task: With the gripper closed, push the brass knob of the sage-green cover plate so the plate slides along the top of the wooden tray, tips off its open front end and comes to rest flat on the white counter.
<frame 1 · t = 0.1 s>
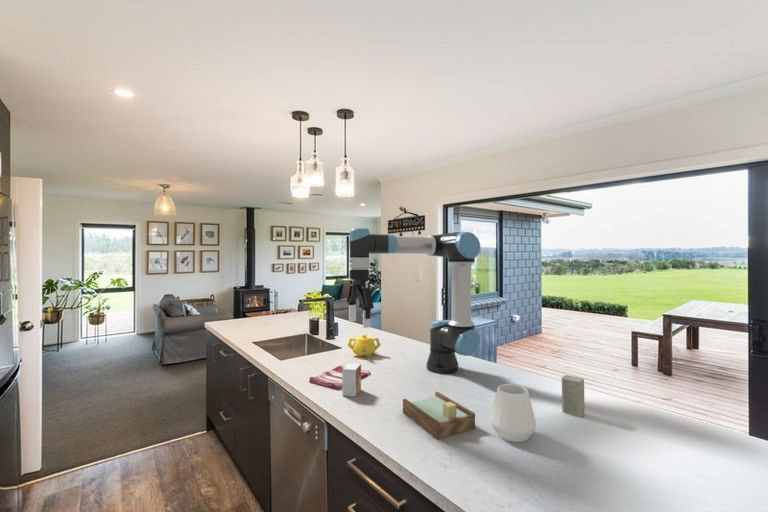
hand: (359, 324, 138), 28 cm above the worktop, fingers open, 13 cm apart
cover plate: (437, 411, 119), point 3 cm above the worktop, touching wooden tray
small box: (351, 393, 143), on the worktop
skincare box: (573, 413, 125), on the worktop
wooden tray: (437, 420, 119), on the worktop
yellow sugar bowl: (364, 355, 196), on the worktop
white ceramic vase: (512, 435, 110), on the worktop
dish towel: (340, 379, 160), on the worktop
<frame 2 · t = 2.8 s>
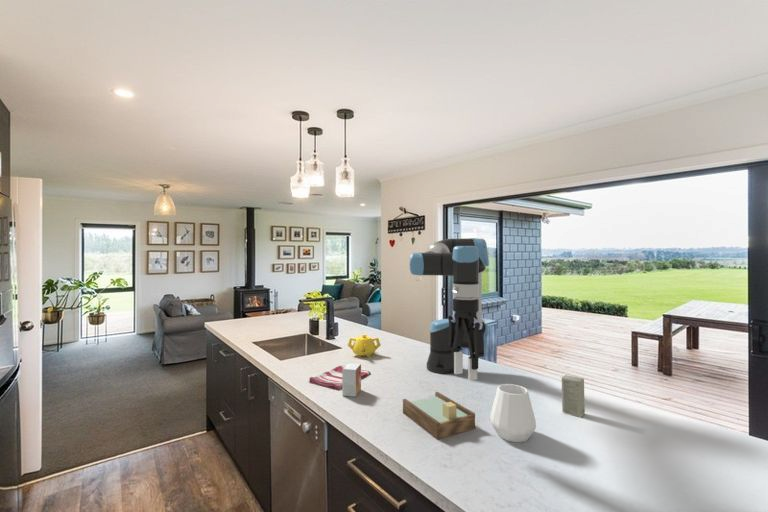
hand: (465, 376, 107), 19 cm above the worktop, fingers open, 6 cm apart
nothing on the worktop moved.
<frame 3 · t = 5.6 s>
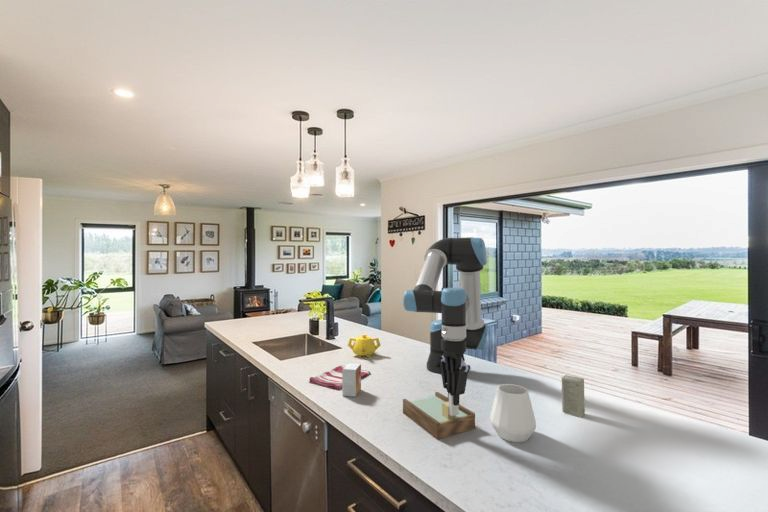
hand: (453, 414, 112), 5 cm above the worktop, fingers closed
cover plate: (436, 410, 119), point 3 cm above the worktop, touching gripper, wooden tray
everything else where it was.
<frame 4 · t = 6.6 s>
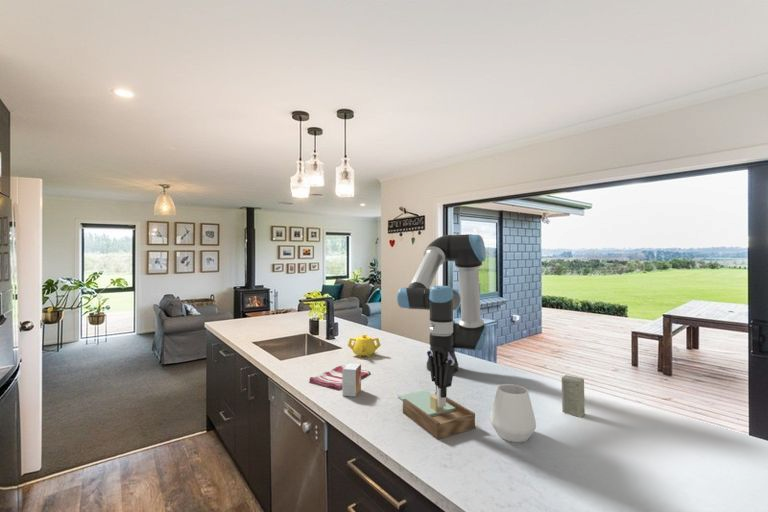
hand: (441, 406, 117), 6 cm above the worktop, fingers closed
cover plate: (425, 403, 125), point 3 cm above the worktop, touching gripper
everything else where it was.
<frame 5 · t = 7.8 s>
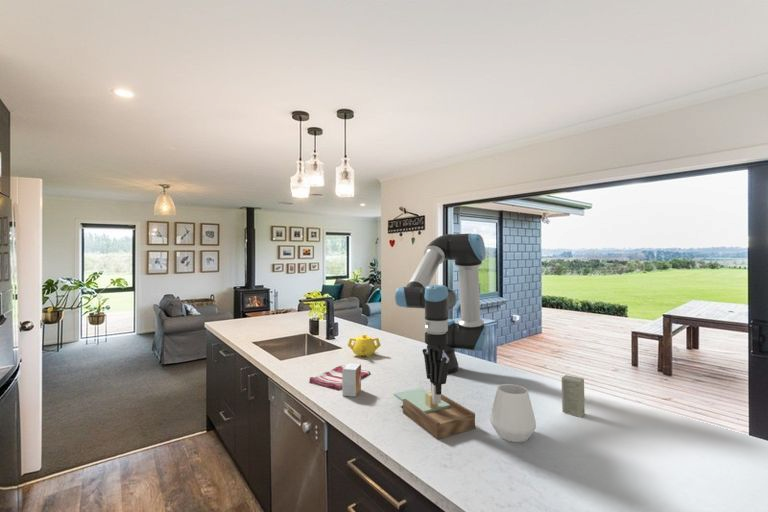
hand: (436, 402, 120), 6 cm above the worktop, fingers closed
cover plate: (420, 401, 127), point 3 cm above the worktop, touching gripper, wooden tray
everything else where it was.
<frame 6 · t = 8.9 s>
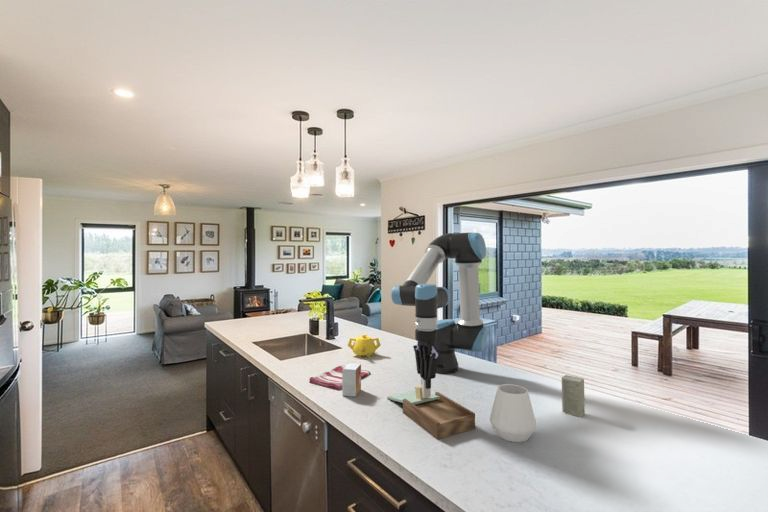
hand: (426, 396, 125), 5 cm above the worktop, fingers closed
cover plate: (412, 398, 132), point 2 cm above the worktop, tilted 13°, touching gripper
everything else where it was.
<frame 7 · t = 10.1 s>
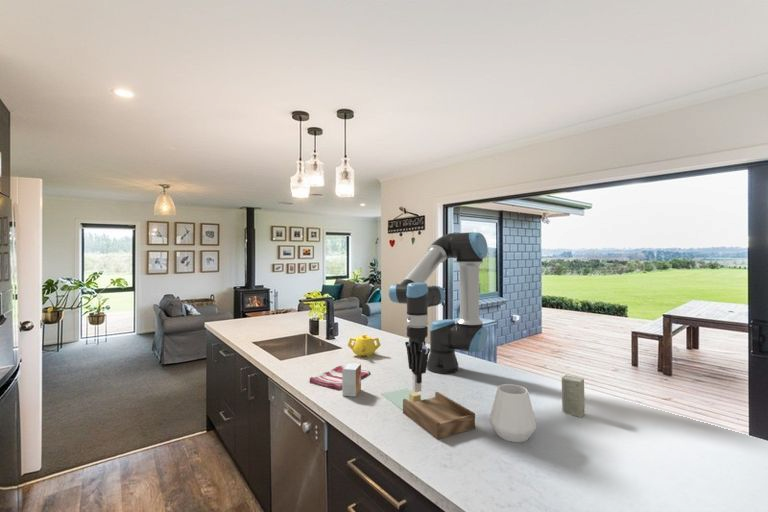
hand: (417, 390, 130), 6 cm above the worktop, fingers closed
cover plate: (405, 400, 136), on the worktop
everything else where it was.
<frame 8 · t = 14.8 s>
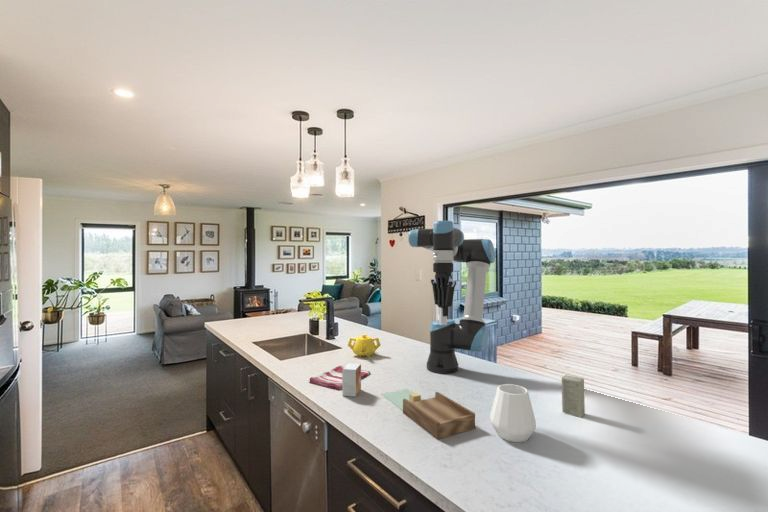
hand: (443, 324, 136), 28 cm above the worktop, fingers closed
nothing on the worktop moved.
at the end: cover plate inside the target area (1.2 cm from its centre), on the worktop; cover plate tilted 0°; cover plate moved 19.8 cm from its start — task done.
